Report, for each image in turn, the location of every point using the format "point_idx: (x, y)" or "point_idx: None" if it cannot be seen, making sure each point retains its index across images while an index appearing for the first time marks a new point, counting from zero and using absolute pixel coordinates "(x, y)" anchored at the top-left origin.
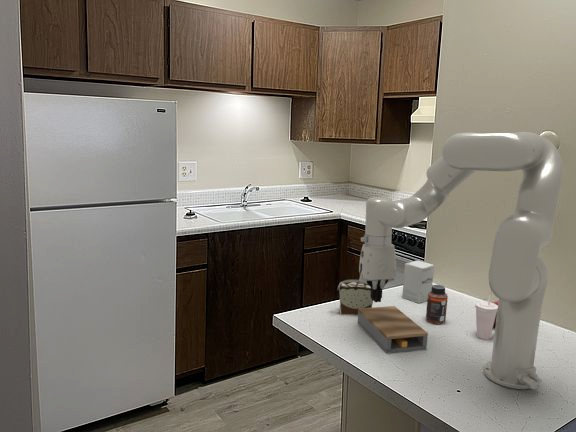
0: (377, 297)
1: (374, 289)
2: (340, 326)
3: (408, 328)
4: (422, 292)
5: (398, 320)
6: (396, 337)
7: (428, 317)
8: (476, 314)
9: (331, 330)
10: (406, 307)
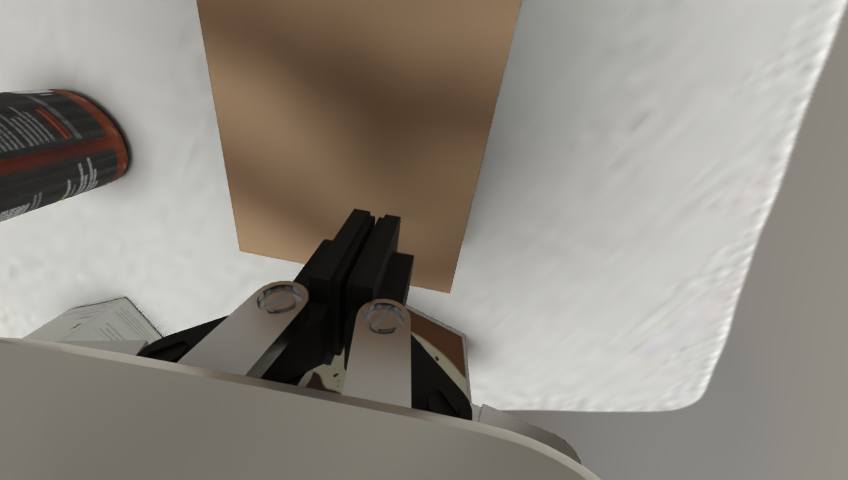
0: (379, 233)
1: (392, 300)
2: (542, 253)
3: None
4: (69, 328)
5: (299, 42)
6: None
7: (103, 143)
8: None
9: (611, 236)
10: (184, 289)
